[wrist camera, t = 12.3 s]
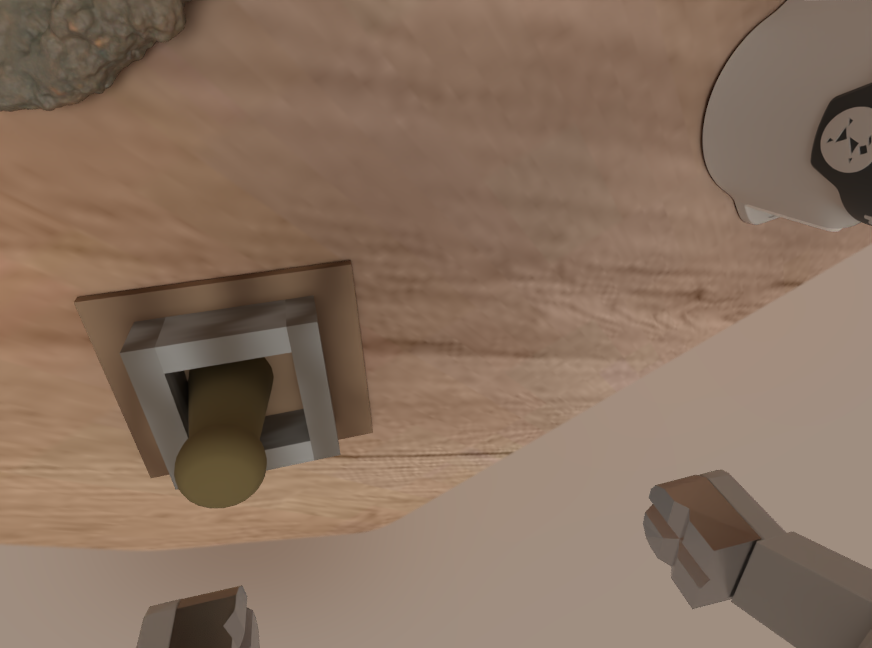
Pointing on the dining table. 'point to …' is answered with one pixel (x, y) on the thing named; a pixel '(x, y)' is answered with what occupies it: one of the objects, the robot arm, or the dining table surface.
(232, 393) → the cork
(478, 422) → the dining table surface
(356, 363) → the socket block
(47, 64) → the long grey stone
